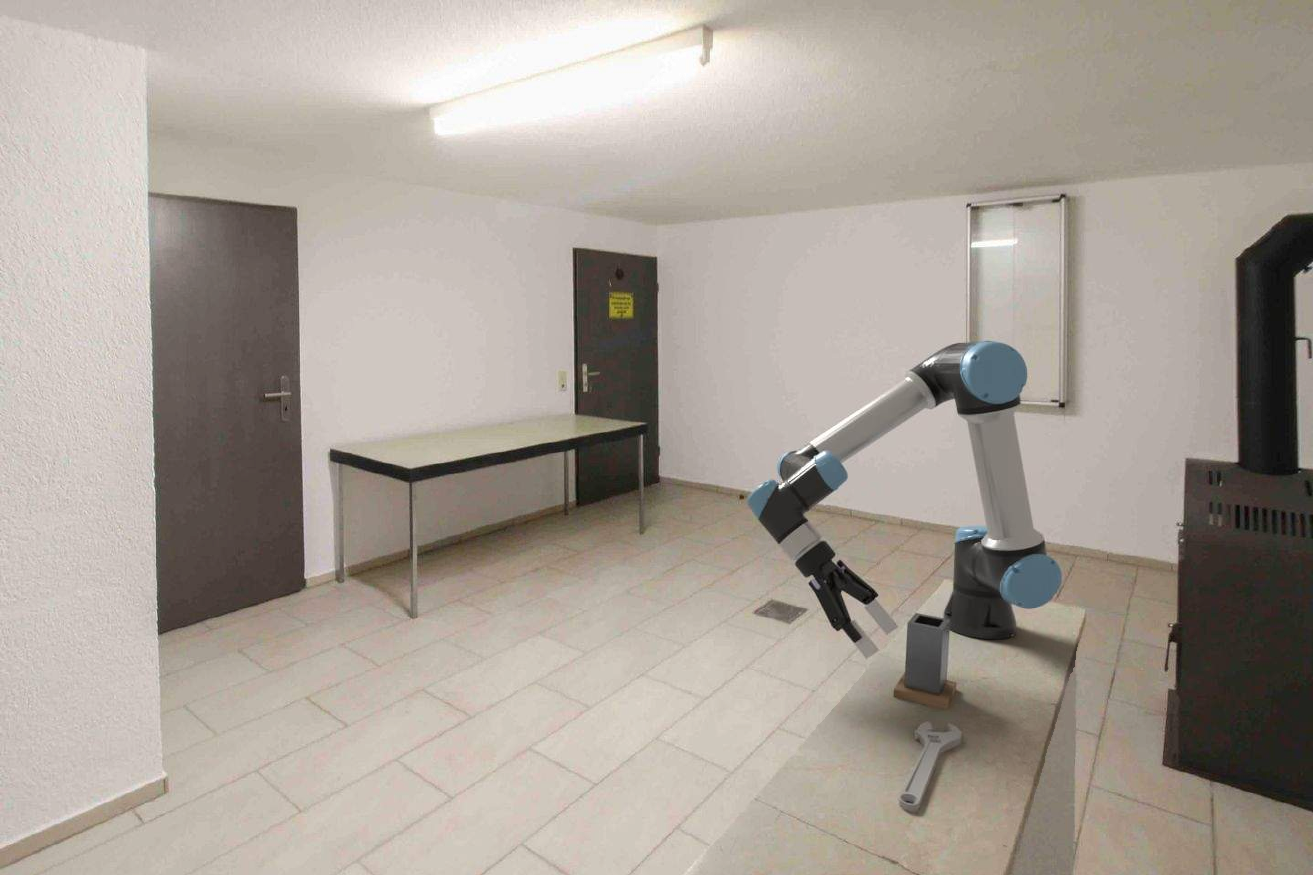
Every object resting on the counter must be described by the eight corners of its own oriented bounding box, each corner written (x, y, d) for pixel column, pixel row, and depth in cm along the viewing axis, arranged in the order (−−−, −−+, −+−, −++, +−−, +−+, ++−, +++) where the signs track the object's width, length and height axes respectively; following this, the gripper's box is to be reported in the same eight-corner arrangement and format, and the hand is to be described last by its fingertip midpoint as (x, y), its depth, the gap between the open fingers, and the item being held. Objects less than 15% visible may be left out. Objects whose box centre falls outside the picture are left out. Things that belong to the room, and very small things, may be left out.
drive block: (905, 680, 137) (906, 649, 136) (955, 692, 132) (957, 659, 131) (893, 699, 129) (894, 666, 128) (946, 712, 124) (948, 678, 124)
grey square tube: (912, 675, 134) (915, 612, 133) (946, 683, 131) (950, 619, 130) (904, 687, 130) (907, 622, 128) (939, 695, 126) (943, 629, 125)
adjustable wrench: (916, 818, 96) (917, 805, 95) (869, 800, 99) (869, 788, 99) (964, 738, 116) (965, 727, 115) (923, 726, 119) (924, 716, 119)
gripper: (816, 548, 152) (885, 631, 146) (769, 577, 131) (847, 676, 125) (842, 526, 149) (914, 611, 142) (797, 553, 128) (879, 654, 121)
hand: (883, 642), depth 134 cm, fingers open, 13 cm apart
